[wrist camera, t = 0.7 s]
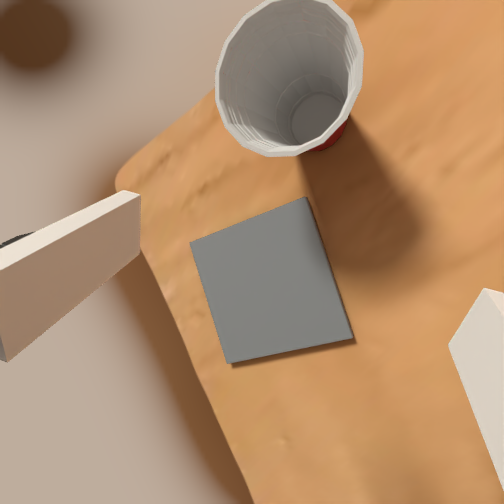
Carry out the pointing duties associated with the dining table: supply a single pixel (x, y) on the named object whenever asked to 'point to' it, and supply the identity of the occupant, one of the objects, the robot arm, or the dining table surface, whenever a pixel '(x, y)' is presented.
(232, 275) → the rest mat
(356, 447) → the dining table surface
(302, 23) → the plastic cup
